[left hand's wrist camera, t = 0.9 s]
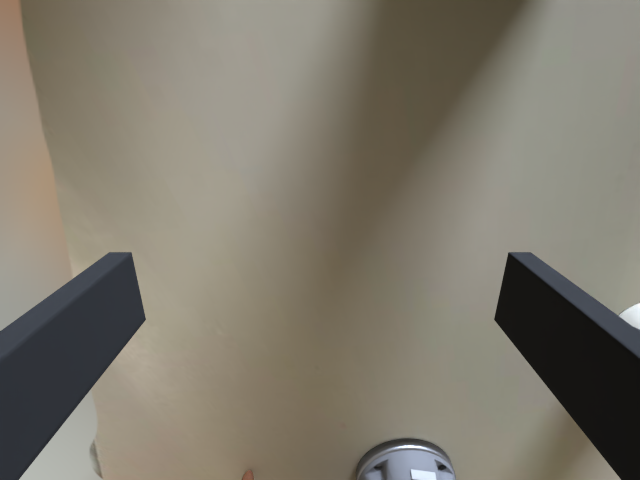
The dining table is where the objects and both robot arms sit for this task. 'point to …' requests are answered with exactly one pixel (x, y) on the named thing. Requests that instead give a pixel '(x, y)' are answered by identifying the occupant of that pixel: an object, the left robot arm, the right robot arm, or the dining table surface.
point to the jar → (632, 316)
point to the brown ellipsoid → (248, 476)
